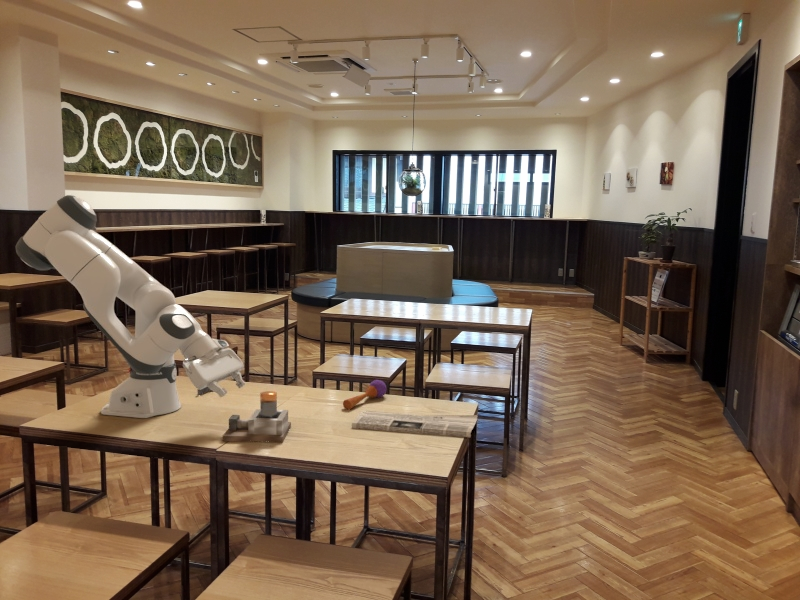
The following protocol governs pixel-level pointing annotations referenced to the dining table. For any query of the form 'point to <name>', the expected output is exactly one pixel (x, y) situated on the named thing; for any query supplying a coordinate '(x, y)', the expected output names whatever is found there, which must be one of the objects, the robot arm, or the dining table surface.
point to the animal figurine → (203, 390)
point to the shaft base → (258, 428)
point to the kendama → (367, 393)
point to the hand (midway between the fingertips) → (233, 390)
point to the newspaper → (417, 423)
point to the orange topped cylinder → (268, 404)
